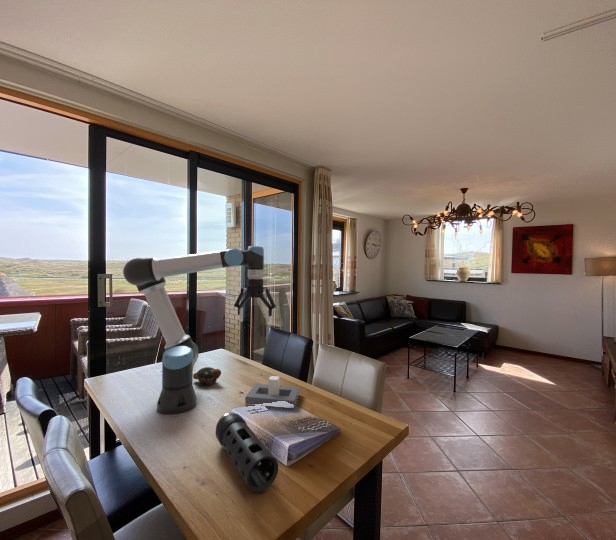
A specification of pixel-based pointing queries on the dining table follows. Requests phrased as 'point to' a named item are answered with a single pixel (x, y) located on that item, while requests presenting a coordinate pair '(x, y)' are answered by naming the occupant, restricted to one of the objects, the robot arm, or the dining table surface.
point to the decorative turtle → (207, 375)
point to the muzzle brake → (246, 452)
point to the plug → (273, 385)
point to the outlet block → (261, 395)
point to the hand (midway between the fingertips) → (254, 322)
